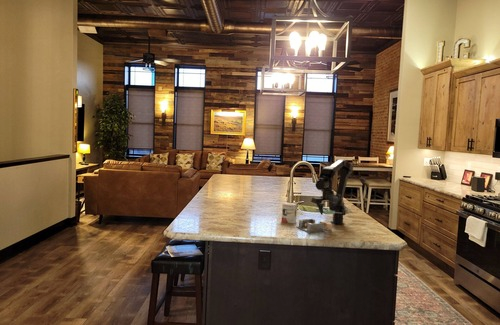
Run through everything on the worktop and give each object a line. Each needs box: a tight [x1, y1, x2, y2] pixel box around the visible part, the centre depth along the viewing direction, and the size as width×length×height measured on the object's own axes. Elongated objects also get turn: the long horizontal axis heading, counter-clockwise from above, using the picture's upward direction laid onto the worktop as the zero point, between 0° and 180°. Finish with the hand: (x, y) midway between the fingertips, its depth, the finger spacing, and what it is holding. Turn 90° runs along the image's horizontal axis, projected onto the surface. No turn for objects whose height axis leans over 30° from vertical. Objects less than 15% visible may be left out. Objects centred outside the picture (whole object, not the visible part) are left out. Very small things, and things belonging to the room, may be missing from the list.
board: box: [317, 207, 335, 215], centre depth 225 cm, size 9×6×2 cm, turn 24°
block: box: [319, 220, 333, 231], centre depth 226 cm, size 8×3×4 cm, turn 24°
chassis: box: [296, 218, 326, 234], centre depth 220 cm, size 14×11×5 cm
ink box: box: [280, 202, 298, 224], centre depth 238 cm, size 9×5×12 cm, turn 68°
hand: (326, 214), depth 225 cm, fingers closed on board, 6 cm apart
